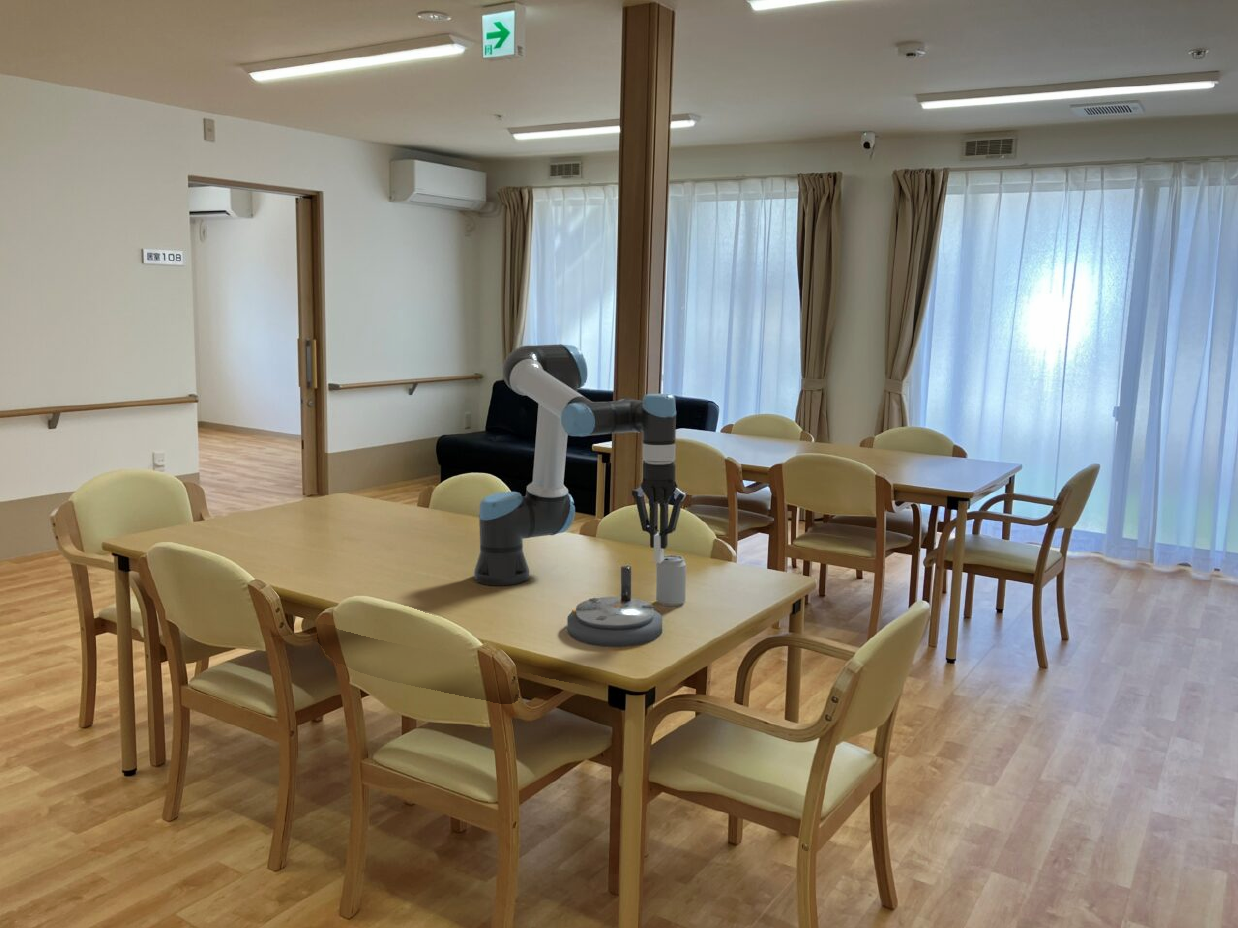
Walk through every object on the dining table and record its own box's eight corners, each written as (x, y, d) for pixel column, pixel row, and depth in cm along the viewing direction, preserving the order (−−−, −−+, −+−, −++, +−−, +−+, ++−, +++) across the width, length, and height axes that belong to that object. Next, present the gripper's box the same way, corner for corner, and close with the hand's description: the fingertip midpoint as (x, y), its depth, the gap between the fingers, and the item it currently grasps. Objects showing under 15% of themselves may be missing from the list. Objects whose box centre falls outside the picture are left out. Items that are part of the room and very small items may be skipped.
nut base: (572, 648, 212) (572, 633, 212) (563, 617, 234) (563, 602, 233) (670, 644, 215) (670, 628, 215) (653, 613, 237) (653, 599, 236)
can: (654, 598, 249) (654, 553, 247) (683, 598, 250) (683, 553, 248) (658, 607, 242) (658, 561, 240) (687, 607, 242) (688, 560, 240)
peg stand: (580, 630, 214) (580, 587, 212) (572, 606, 232) (572, 565, 230) (660, 627, 217) (660, 584, 215) (646, 603, 234) (646, 563, 233)
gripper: (691, 460, 223) (690, 560, 226) (638, 457, 228) (638, 555, 231) (680, 465, 216) (680, 568, 220) (626, 462, 221) (626, 562, 224)
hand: (658, 561), depth 225 cm, fingers closed
